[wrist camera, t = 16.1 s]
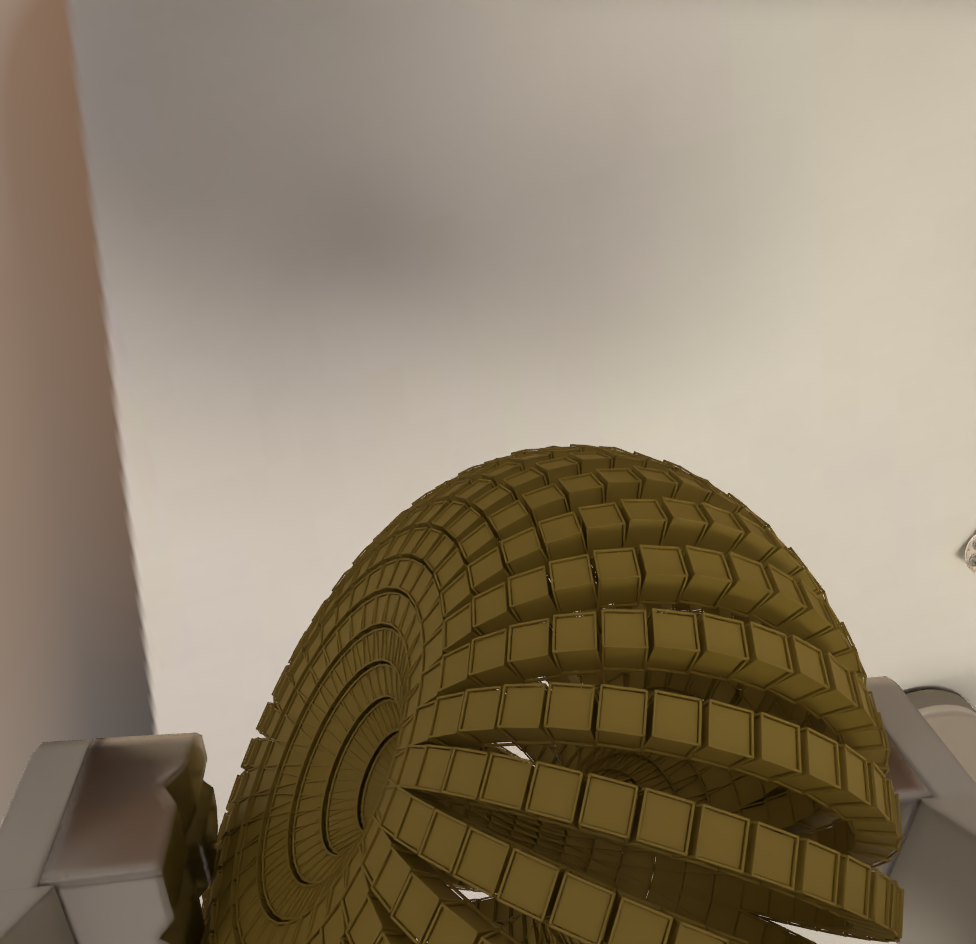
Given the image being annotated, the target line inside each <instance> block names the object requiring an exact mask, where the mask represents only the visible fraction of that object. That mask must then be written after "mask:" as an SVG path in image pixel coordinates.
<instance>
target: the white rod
mask: <svg viewBox="0 0 976 944" xmlns="http://www.w3.org/2000/svg"><path fill="white" fill-rule="evenodd" d="M965 562H966V564H967V566H968V568H969V569H970V570H971V571H972V572H974V573H976V534H975V535H974V536H973V537H972V538H971V540H970V541H969V543H968V544H967V547H966V550H965Z"/></svg>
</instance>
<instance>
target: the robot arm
mask: <svg viewBox="0 0 976 944" xmlns="http://www.w3.org/2000/svg"><path fill="white" fill-rule="evenodd" d="M863 684H864V678H863ZM866 689H867V691H872V694H873V697H874V701H875V705H876V708H877V712H880V713H881V717H882V721H883V724H884V728H885V732H886V735H887V739H888V743H889V746H890V753H889V758H888V765H889V769H890V770H889V771H888V773H887V774H886V778H891V781H892V785H893V789H894V794H898V795H899V804H900V814H901V823H902V832H903V839H902V841H901V844H900V846H901V851H900V852H899V853H898V854H896V855H895V856H894V857H892V858H891V859H890V861H891V862H889V863H886V864H883V865H881V866H878V867H876V868H875V869H879V870H880V871H881V872H883V873H884V874H885V875H887V876H888V877H890V878H891V879H892V880H896V881H897V882H898V885H899V887H900V888H901V889H904V907H903V929H902V938H901V939H900V942H896V943H897V944H976V783H975V781H974V780H973V779H972V778H971V776H970V775H969V774H968V773H967V771H966V770H965V769H964V768H963V766H962V765H961V764H960V762H959V761H958V760H957V759H956V757H955V756H954V755H953V754H952V752H951V751H950V750H949V748H948V747H947V746H946V745H945V743H944V742H943V741H942V740H941V738H940V737H939V736H938V735H937V733H936V732H935V731H934V729H933V728H932V727H931V726H930V724H929V723H928V722H927V721H926V719H925V718H924V717H923V715H922V714H921V713H920V712H919V710H918V709H917V708H916V707H915V705H914V704H913V703H912V702H911V700H910V699H909V698H908V696H907V695H906V694H905V693H904V691H903V690H902V689H901V688H900V686H899V685H898V684H897V683H896V682H894V681H893V680H891V679H889V678H888V677H886V676H883V677H871V678H867V681H866ZM868 695H870V697H871V694H868ZM871 701H872V699H871ZM872 705H873V703H872ZM873 709H874V707H873ZM875 716H876V715H875ZM880 723H881V722H880ZM881 727H882V726H881ZM882 731H883V730H882ZM883 735H884V733H883ZM884 739H885V737H884ZM885 744H886V741H885ZM886 748H887V744H886ZM885 754H887V750H886V753H885ZM206 762H207V755H206V750H205V746H204V742H203V738H202V735H200V734H198V733H183V734H165V735H146V736H129V737H110V738H96V739H90V740H73V741H54V742H43V743H42V744H41V745H40V746H39V747H38V748H37V749H36V750H35V752H34V753H33V754H32V755H31V756H30V758H29V760H28V763H27V765H26V767H25V769H24V772H23V774H22V776H21V779H20V781H19V783H18V786H17V788H16V790H15V792H14V794H13V797H12V799H11V801H10V804H9V806H8V808H7V811H6V813H5V815H4V817H3V819H2V822H1V824H0V944H202V939H203V934H204V929H205V922H204V917H203V913H202V908H201V904H200V899H199V897H200V896H201V895H202V894H203V893H204V891H205V890H206V889H207V888H208V887H209V886H210V884H211V882H212V880H213V876H212V874H213V873H214V868H215V860H216V853H217V833H218V820H217V806H216V800H215V794H214V789H213V787H211V786H210V785H209V784H207V783H206V782H205V781H203V778H204V772H205V767H206ZM884 772H885V770H884V771H883V774H884ZM882 782H883V781H882ZM886 782H888V783H889V781H886ZM896 808H897V802H896ZM897 817H898V809H897ZM831 823H832V822H831ZM831 823H829V824H831ZM827 825H828V824H827ZM814 827H815V826H814ZM831 827H832V826H831ZM831 827H829V828H831ZM898 827H899V818H898ZM827 829H828V828H827ZM809 834H811V833H809ZM805 835H808V834H805ZM899 835H900V828H899ZM802 836H804V835H802ZM893 852H895V850H894V851H893ZM893 852H891V853H890V855H891V854H892V853H893ZM881 862H883V861H880V862H877V863H875V864H878V863H881ZM875 864H873V865H875ZM869 866H870V865H869ZM871 872H875V871H871ZM878 875H880V874H879V873H878ZM880 876H882V875H880ZM882 877H883V876H882ZM887 882H888V881H887ZM891 883H893V882H891ZM893 884H894V883H893ZM896 891H897V890H896ZM900 895H901V894H900Z"/></svg>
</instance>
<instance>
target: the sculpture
mask: <svg viewBox="0 0 976 944" xmlns="http://www.w3.org/2000/svg"><path fill="white" fill-rule="evenodd" d="M572 446H576V447H572ZM613 449H614V450H613ZM616 449H617V450H616ZM534 450H538V451H534ZM618 450H619V451H618ZM524 451H525V452H524ZM620 451H622V452H620ZM513 454H514V455H513ZM635 454H638V455H635ZM513 456H514V457H513ZM653 460H654V461H653ZM494 461H495V462H494ZM655 461H656V462H655ZM665 462H666V463H665ZM661 463H662V464H661ZM664 464H665V465H664ZM673 465H674V466H673ZM479 466H481V467H479ZM675 466H677V467H679V468H677V467H675ZM475 467H477V468H475ZM470 469H471V470H470ZM682 469H683V470H684V471H683V470H682ZM468 470H469V471H468ZM685 471H686V472H688V473H689V474H688V473H686V472H685ZM460 474H461V475H460ZM458 475H459V476H457V477H455V478H453V479H451V480H449V481H445V482H444V483H443V484H441V485H439V486H437V487H435V488H436V489H434V490H431V491H429V492H427V493H425V494H424V495H423V496H421V497H420V498H419V499H417V500H416V501H415V502H413V503H412V505H413V506H412V507H410V508H409V509H407V510H405V511H403V512H401V513H400V514H399V515H398V516H397V517H396V518H395V519H394V520H393V521H392V522H391V523H390V524H389V525H388V526H387V527H386V528H385V529H384V530H383V531H382V532H381V533H380V534H379V535H377V536H376V537H375V538H374V539H373V542H372V543H371V544H370V545H368V546H367V547H366V548H365V549H364V550H363V551H362V552H361V553H360V555H359V556H358V557H357V558H356V559H355V560H354V562H353V563H352V564H353V566H352V567H351V568H350V569H349V570H347V571H346V572H345V573H344V574H343V575H342V577H341V578H340V580H339V581H338V582H337V584H336V585H335V586H334V588H333V589H332V591H333V592H332V594H331V595H330V597H329V598H328V599H326V600H324V602H323V604H322V605H321V607H320V608H319V610H318V611H317V613H316V614H315V616H314V618H313V619H312V623H311V624H310V626H309V627H308V629H307V631H305V632H304V634H303V636H302V638H301V639H300V641H299V643H298V645H297V646H296V648H295V650H294V652H293V653H292V656H291V658H290V660H289V662H288V663H290V665H287V666H285V668H284V670H283V672H282V674H281V676H280V678H279V680H278V682H277V684H276V686H275V688H274V691H273V693H272V695H273V701H274V703H270V702H268V703H267V705H266V707H265V709H264V712H263V714H262V716H261V718H260V721H259V723H258V725H257V727H256V729H257V730H258V731H259V733H260V734H263V735H264V736H265V737H266V738H259V737H258V738H255V739H253V738H252V739H251V742H250V744H249V747H248V749H247V752H246V754H245V757H244V759H243V762H242V764H241V768H243V769H245V771H244V772H243V773H242V774H241V775H237V778H236V781H235V783H234V786H233V789H232V792H231V795H230V798H229V801H228V804H227V807H226V810H227V811H228V813H225V814H224V817H223V821H222V824H221V825H220V829H219V832H218V836H217V853H216V860H215V868H214V873H213V874H212V876H213V880H212V882H211V884H210V886H209V887H208V888H207V889H206V890H205V891H204V893H203V894H202V899H203V903H202V913H203V917H204V922H205V929H204V934H203V939H202V944H816V943H815V942H813V941H811V940H809V939H807V938H805V937H803V936H801V935H799V934H796V933H794V932H792V931H790V930H788V929H786V928H784V927H782V926H780V925H778V924H776V923H774V922H772V921H775V922H779V923H783V924H789V925H793V926H797V927H801V928H806V929H810V930H815V931H820V932H825V933H830V934H835V935H840V936H844V937H852V938H858V939H863V940H869V941H870V940H873V941H881V942H900V939H901V938H902V929H903V907H904V889H901V888H900V887H899V885H898V882H897V881H896V880H892V879H891V878H890V877H888V876H887V875H885V874H884V873H883V872H881V871H880V870H879V869H875V868H876V867H878V866H881V865H883V864H886V863H889V862H891V861H890V859H891V858H892V857H894V856H895V855H896V854H898V853H899V852H900V851H901V846H900V844H901V841H902V839H903V832H902V823H901V814H900V804H899V795H898V794H894V789H893V785H892V781H891V778H886V774H887V773H888V771H889V770H890V769H889V765H888V758H889V753H890V746H889V743H888V739H887V735H886V732H885V728H884V724H883V721H882V717H881V713H880V712H877V708H876V705H875V701H874V697H873V694H872V691H867V689H866V681H867V675H866V673H865V671H864V668H863V666H862V664H861V662H860V659H859V656H858V652H857V649H856V647H855V645H854V643H853V641H852V639H851V637H850V635H849V633H848V631H847V629H846V627H845V624H844V622H841V623H840V622H839V620H838V618H837V617H836V615H835V613H834V612H833V610H832V608H831V607H830V605H829V603H828V600H827V596H826V593H825V591H824V590H823V588H822V587H821V586H820V585H819V583H818V582H817V581H816V579H815V578H814V577H813V575H812V574H811V573H810V572H809V570H808V569H807V567H806V566H805V565H804V563H803V562H802V561H801V559H800V558H799V557H798V556H797V554H796V553H795V552H794V550H793V549H792V548H791V547H790V548H787V547H786V546H785V545H784V544H783V543H782V542H781V541H780V540H779V539H778V537H777V536H776V534H775V533H774V531H773V530H772V528H771V526H770V525H769V524H767V523H766V522H765V521H764V520H762V519H761V518H760V517H758V516H757V515H756V514H754V513H753V512H752V511H751V510H750V509H749V508H748V507H747V506H746V505H745V504H743V503H742V502H741V501H739V500H738V499H737V498H735V497H734V496H733V495H732V494H730V493H728V494H725V493H724V492H722V491H721V490H719V489H718V488H716V487H715V486H713V485H712V484H711V483H710V482H709V481H708V480H706V479H703V478H701V477H698V476H696V475H694V474H692V473H691V472H689V471H688V470H686V469H684V468H683V467H681V466H679V465H677V464H674V463H671V462H669V461H666V460H663V462H662V461H659V460H656V459H654V458H651V457H648V456H645V455H643V454H640V453H637V452H635V451H634V453H633V454H632V453H630V452H627V451H624V450H622V449H619V448H616V447H603V446H599V447H595V446H588V445H575V444H570V447H558V446H550V447H546V448H540V449H525V450H521V451H517V452H513V453H511V455H510V456H506V457H502V458H496V459H494V460H491V461H487V462H484V464H480V465H476V466H473V467H470V468H468V469H466V470H464V471H462V472H460V473H458ZM458 477H459V478H458ZM448 482H449V483H448ZM431 492H432V493H431ZM720 492H721V493H720ZM429 493H430V494H429ZM427 494H428V495H427ZM425 495H426V496H425ZM729 495H730V496H731V497H732V498H731V497H729ZM424 496H425V497H424ZM422 497H423V498H422ZM421 498H422V499H421ZM741 504H742V505H743V506H744V507H743V506H742V505H741ZM745 508H746V509H747V510H748V511H747V510H746V509H745ZM401 514H402V515H401ZM530 517H531V518H530ZM765 525H767V526H765ZM769 529H770V530H771V531H770V530H769ZM497 538H498V539H497ZM502 538H503V539H502ZM776 539H777V540H776ZM499 541H500V542H499ZM656 548H657V549H656ZM365 550H366V551H365ZM790 550H791V551H792V552H791V551H790ZM364 551H365V552H364ZM363 552H364V553H363ZM362 553H363V554H362ZM361 554H362V555H361ZM588 565H589V566H588ZM591 565H592V566H591ZM802 565H803V566H804V567H803V566H802ZM592 567H593V568H592ZM347 572H348V573H347ZM595 572H596V573H595ZM345 574H346V575H345ZM344 575H345V576H344ZM547 575H548V576H547ZM343 576H344V577H343ZM595 576H596V577H595ZM342 578H343V579H342ZM548 578H549V579H550V580H551V582H550V581H549V579H548ZM341 579H342V580H341ZM553 580H554V581H553ZM340 581H341V582H340ZM339 582H340V583H339ZM596 582H597V584H596ZM338 583H339V584H338ZM337 585H338V586H337ZM820 589H821V591H822V592H821V591H820ZM823 594H824V597H825V600H824V597H823ZM329 599H330V600H329ZM328 600H329V601H328ZM825 603H826V604H825ZM609 604H612V605H609ZM613 604H614V605H613ZM322 606H323V607H322ZM603 608H605V609H603ZM672 608H673V609H672ZM674 608H675V609H674ZM667 609H669V610H667ZM698 609H701V610H698ZM681 610H685V611H681ZM693 610H696V611H693ZM575 611H578V612H575ZM580 611H581V612H580ZM655 611H657V612H655ZM699 611H701V612H699ZM703 611H704V612H703ZM573 612H574V613H573ZM662 612H663V613H662ZM699 613H701V614H699ZM582 615H583V616H584V617H583V616H582ZM576 616H577V617H576ZM579 616H581V617H579ZM648 616H649V617H648ZM546 621H547V622H546ZM543 622H545V623H543ZM837 622H838V623H837ZM549 625H550V626H549ZM841 625H842V626H843V627H842V626H841ZM551 628H552V629H551ZM555 634H556V635H555ZM847 635H848V637H847ZM848 638H849V640H850V642H851V644H852V646H851V644H850V642H849V640H848ZM290 661H291V662H290ZM292 662H293V663H292ZM577 671H578V672H577ZM582 675H584V676H582ZM544 676H545V677H544ZM537 677H543V678H537ZM863 677H864V684H863ZM544 680H545V681H547V682H548V684H549V687H548V686H547V685H546V684H545V683H542V682H541V681H544ZM538 681H539V682H540V683H539V682H538ZM582 683H583V684H582ZM581 687H582V688H581ZM545 688H546V689H545ZM496 689H499V690H496ZM551 689H552V690H551ZM740 689H741V690H740ZM505 693H507V694H505ZM550 694H551V695H550ZM868 694H871V697H870V695H868ZM275 698H276V699H275ZM702 699H703V700H704V701H703V700H702ZM871 699H872V701H871ZM872 703H873V705H872ZM873 707H874V709H873ZM265 711H266V712H265ZM264 713H265V714H264ZM263 715H264V716H263ZM875 715H876V716H875ZM260 722H261V723H260ZM880 722H881V723H880ZM259 724H260V725H259ZM881 726H882V727H881ZM882 730H883V731H882ZM262 732H263V733H262ZM265 733H266V734H265ZM883 733H884V735H883ZM269 737H270V738H269ZM884 737H885V739H884ZM271 738H272V739H271ZM259 739H260V740H259ZM262 740H263V741H262ZM268 740H269V741H268ZM270 740H271V741H270ZM272 741H273V742H272ZM885 741H886V744H887V748H886V744H885ZM498 742H512V743H501V744H497V743H498ZM251 743H252V744H251ZM492 743H494V744H492ZM518 745H519V746H520V747H521V748H522V749H521V748H520V747H519V746H518ZM555 745H556V746H555ZM499 746H500V747H501V748H500V747H499ZM502 746H517V747H518V748H519V749H520V750H521V751H523V752H524V753H525V755H526V756H527V757H528V758H529V759H530V760H527V759H523V758H520V757H519V756H517V755H516V754H513V753H512V752H510V751H509V750H507V749H505V748H504V747H502ZM249 748H250V749H249ZM502 748H503V749H502ZM504 749H505V750H506V751H505V750H504ZM886 750H887V754H885V753H886ZM248 751H249V752H248ZM247 753H248V754H247ZM526 753H527V754H528V755H529V756H530V757H531V758H532V759H533V760H532V759H531V758H530V757H529V756H528V755H527V754H526ZM511 754H512V755H511ZM246 756H247V757H246ZM515 756H516V757H515ZM244 761H245V762H244ZM529 763H530V764H529ZM532 764H533V765H535V767H534V766H532ZM884 770H885V772H884V774H883V771H884ZM247 772H248V773H247ZM243 774H244V775H243ZM241 777H242V778H241ZM882 781H883V782H882ZM886 781H889V783H888V782H886ZM235 785H236V786H235ZM234 788H235V789H234ZM233 791H234V792H233ZM232 794H233V795H232ZM231 797H232V798H231ZM676 799H677V800H676ZM230 800H231V801H230ZM896 802H897V808H896ZM897 809H898V817H897ZM226 815H227V816H226ZM228 815H229V816H228ZM898 818H899V827H898ZM831 822H832V823H831ZM829 823H831V824H829ZM827 824H828V825H827ZM814 826H815V827H814ZM831 826H832V827H831ZM829 827H831V828H829ZM827 828H828V829H827ZM899 828H900V835H899ZM809 833H811V834H809ZM805 834H808V835H805ZM802 835H804V836H802ZM894 850H895V852H893V851H894ZM622 852H623V853H622ZM891 852H893V853H892V854H891V855H890V853H891ZM655 857H656V862H655ZM880 861H883V862H881V863H878V864H875V863H877V862H880ZM873 864H875V865H873ZM869 865H870V866H869ZM871 871H875V872H871ZM653 872H654V873H653ZM878 873H879V874H880V875H882V876H883V877H882V876H880V875H878ZM652 876H653V878H652ZM651 881H652V882H651ZM887 881H888V882H887ZM891 882H893V883H894V884H893V883H891ZM447 885H448V886H447ZM455 887H458V888H455ZM468 887H469V888H468ZM462 888H465V889H462ZM470 888H471V889H470ZM451 889H453V890H454V891H455V892H456V893H457V894H459V895H460V896H461V897H462V898H463V899H464V900H462V899H461V898H460V897H459V896H458V895H457V894H456V893H454V892H453V891H452V890H451ZM472 889H473V890H472ZM459 890H467V891H470V890H471V891H473V892H483V893H485V894H487V895H489V897H485V898H481V899H470V900H469V899H468V898H466V897H465V896H464V895H463V894H462V893H461V892H460V891H459ZM896 890H897V891H896ZM648 891H649V892H648ZM495 893H496V894H495ZM647 893H648V895H647ZM900 894H901V895H900ZM646 896H647V898H646ZM493 897H494V898H493ZM488 898H491V899H488ZM484 899H487V900H484ZM475 900H476V901H475ZM481 900H483V901H481ZM471 901H473V902H471ZM203 907H204V908H203ZM759 915H761V916H759ZM763 916H765V917H763ZM758 917H759V918H758ZM767 917H769V918H767ZM760 918H761V919H760ZM762 919H763V920H762ZM764 920H765V921H764ZM770 920H771V921H770ZM766 921H767V922H766ZM787 921H788V922H787ZM769 922H770V923H769ZM791 922H792V923H791ZM793 923H796V924H793ZM797 924H799V925H797ZM815 927H816V928H815ZM782 929H783V930H782ZM821 929H824V930H821ZM826 930H827V931H826ZM789 932H790V933H792V934H790V933H789ZM843 932H844V933H843ZM793 934H794V935H793ZM848 934H850V935H848ZM853 935H854V936H853ZM867 936H868V937H867ZM871 937H872V938H871ZM416 938H417V939H418V941H417V940H416ZM427 941H428V943H426V942H427Z"/></svg>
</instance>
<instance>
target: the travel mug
mask: <svg viewBox="0 0 976 944" xmlns="http://www.w3.org/2000/svg"><path fill="white" fill-rule="evenodd" d="M906 695H907V696H908V698H909V699H910V700H911V702H912V703H913V704H914V705H915V707H916V708H917V709H918V710H919V712H920V713H921V714H922V715H923V717H924V718H925V719H926V721H927V722H928V723H929V724H930V726H931V727H932V728H933V729H934V731H935V732H936V733H937V735H938V736H939V737H940V738H941V740H942V741H943V742H944V743H945V745H946V746H947V747H948V748H949V750H950V751H951V752H952V754H953V755H954V756H955V757H956V759H957V760H958V761H959V762H960V764H961V765H962V766H963V768H964V769H965V770H966V771H967V773H968V774H969V775H970V776H971V778H972V779H973V780H974V781H975V783H976V711H975V710H974V709H973V708H972V707H971V705H970V704H969V703H968V702H967V701H966V700H965V699H964V698H962V697H961V696H959V695H957V694H955V693H951V692H948V691H944V690H934V689H931V690H920V691H915V692H911V693H907V694H906Z"/></svg>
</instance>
